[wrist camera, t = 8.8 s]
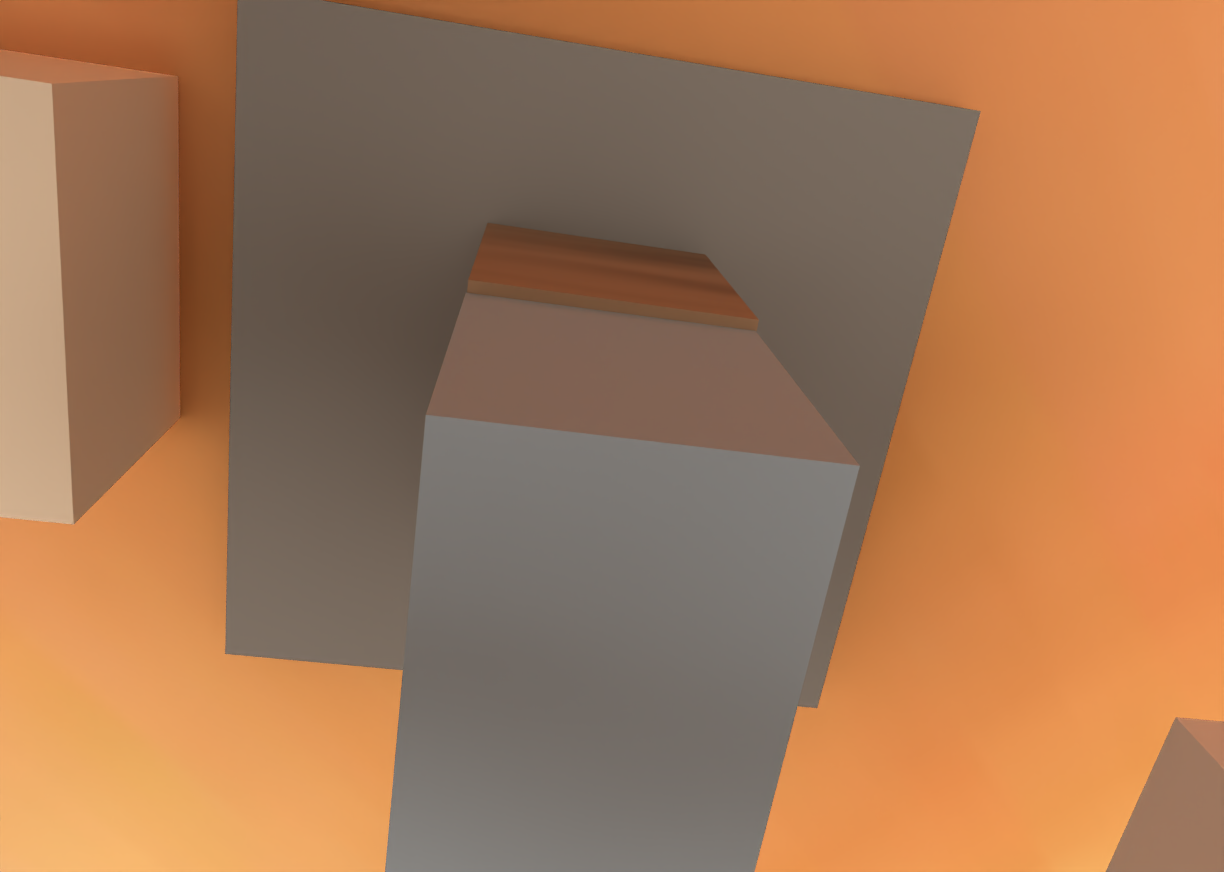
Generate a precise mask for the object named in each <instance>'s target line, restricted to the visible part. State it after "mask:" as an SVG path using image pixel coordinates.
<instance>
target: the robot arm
mask: <svg viewBox="0 0 1224 872" xmlns="http://www.w3.org/2000/svg"><path fill="white" fill-rule="evenodd" d="M1106 872H1224V722H1221V721H1210V720H1199V719H1188V718H1177V717H1176V718H1175V720H1174V722H1173V724H1172V726H1171V729H1170V731H1169V733H1168V735H1167V738H1166V740H1165V742H1164V744H1163V746H1162V749H1161V751H1160V753H1159V755H1158V757H1157V760H1156V762H1155V764H1154V766H1153V769H1152V771H1151V773H1150V775H1149V777H1148V780H1147V782H1146V784H1145V786H1144V788H1143V791H1142V793H1141V795H1140V797H1139V800H1138V802H1137V804H1136V806H1135V808H1134V811H1133V813H1132V815H1131V817H1130V819H1129V822H1128V824H1127V826H1126V828H1125V831H1124V833H1123V835H1122V837H1121V839H1120V842H1119V844H1118V846H1117V848H1116V850H1115V853H1114V855H1113V857H1112V859H1111V862H1110V864H1109V866H1108V868H1107V870H1106Z"/></svg>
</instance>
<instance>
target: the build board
mask: <svg viewBox="0 0 1224 872" xmlns="http://www.w3.org/2000/svg"><path fill="white" fill-rule="evenodd" d="M980 112H981V111H976V110H970V109H964V108H958V107H953V106H947V105H941V104H935V103H929V102H923V101H917V100H911V99H905V98H899V97H893V96H887V95H881V94H875V93H869V92H863V91H858V90H852V89H846V88H840V87H834V86H828V85H822V84H816V83H810V82H804V81H798V80H792V79H786V78H780V77H774V76H768V75H763V74H757V73H751V72H745V71H739V70H733V69H727V68H721V67H715V66H709V65H703V64H697V63H691V62H685V61H679V60H673V59H667V58H662V57H656V56H650V55H644V54H638V53H632V52H626V51H620V50H614V49H608V48H602V47H596V46H590V45H584V44H578V43H572V42H567V41H561V40H555V39H549V38H543V37H537V36H531V35H525V34H519V33H513V32H507V31H501V30H495V29H489V28H483V27H477V26H472V25H466V24H460V23H454V22H448V21H442V20H436V19H430V18H424V17H418V16H412V15H406V14H400V13H394V12H388V11H382V10H377V9H371V8H365V7H359V6H353V5H347V4H341V3H335V2H329V1H323V0H238V5H237V59H236V112H235V166H234V219H233V273H232V327H231V380H230V434H229V487H228V541H227V594H226V648H225V654H233V655H244V656H255V657H265V658H276V659H287V660H298V661H309V662H320V663H331V664H342V665H353V666H364V667H375V668H386V669H397V670H403V665H404V654H405V643H406V631H407V620H408V609H409V598H410V586H411V575H412V564H413V553H414V541H415V530H416V519H417V508H418V496H419V485H420V474H421V462H422V451H423V440H424V429H425V417H426V412H427V409H428V406H429V403H430V400H431V397H432V394H433V391H434V388H435V385H436V382H437V379H438V376H439V373H440V370H441V367H442V364H443V361H444V358H445V355H446V352H447V349H448V346H449V342H450V339H451V336H452V333H453V330H454V327H455V324H456V321H457V318H458V315H459V312H460V309H461V306H462V303H463V300H464V297H465V294H466V293H467V288H468V279H469V276H470V273H471V270H472V267H473V264H474V261H475V259H476V256H477V253H478V250H479V247H480V244H481V241H482V238H483V235H484V232H485V229H486V226H487V223H493V224H500V225H507V226H513V227H520V228H527V229H534V230H541V231H548V232H555V233H561V234H568V235H575V236H582V237H589V238H596V239H603V240H609V241H616V242H623V243H630V244H637V245H644V246H651V247H657V248H664V249H671V250H678V251H685V252H692V253H699V254H705V255H706V256H707V257H708V258H709V260H710V261H711V262H712V263H713V264H714V266H715V267H716V268H717V269H718V271H719V272H720V273H721V274H722V275H723V277H724V278H725V279H726V280H727V282H728V283H729V284H730V285H731V286H732V288H733V289H734V290H735V291H736V293H737V294H738V295H739V296H740V297H741V299H742V300H743V301H744V302H745V304H746V305H747V306H748V307H749V308H750V310H751V311H752V312H753V313H754V315H755V316H756V317H757V318H758V319H759V322H758V327H757V331H756V332H757V333H758V335H759V336H760V337H761V339H762V340H763V341H764V342H765V344H766V345H767V346H768V348H769V349H770V350H771V351H772V353H773V354H774V355H775V357H776V358H777V359H778V361H779V362H780V363H781V364H782V366H783V367H784V368H785V370H786V371H787V372H788V373H789V375H790V376H791V377H792V379H793V380H794V381H795V383H796V384H797V385H798V386H799V388H800V389H801V390H802V392H803V393H804V394H805V395H806V397H807V398H808V399H809V401H810V402H811V403H812V405H813V406H814V407H815V408H816V410H817V411H818V412H819V414H820V415H821V416H822V417H823V419H824V420H825V421H826V423H827V424H828V425H829V427H830V428H831V429H832V430H833V432H834V433H835V434H836V436H837V437H838V438H839V439H840V441H841V442H842V443H843V445H844V446H845V447H846V449H847V450H848V451H849V452H850V454H851V455H852V456H853V458H854V459H855V460H856V461H857V463H858V464H859V465H860V467H859V471H858V475H857V479H856V483H855V486H854V490H853V494H852V498H851V502H850V506H849V510H848V513H847V517H846V521H845V525H844V529H843V533H842V536H841V540H840V544H839V548H838V552H837V556H836V560H835V563H834V567H833V571H832V575H831V579H830V583H829V586H828V590H827V594H826V598H825V602H824V606H823V610H822V613H821V617H820V621H819V625H818V629H817V633H816V636H815V640H814V644H813V648H812V652H811V656H810V660H809V663H808V667H807V671H806V675H805V679H804V683H803V686H802V690H801V694H800V698H799V702H798V706H801V707H812V708H817V707H818V703H819V699H820V696H821V692H822V688H823V685H824V681H825V677H826V674H827V670H828V667H829V663H830V659H831V656H832V652H833V648H834V645H835V641H836V637H837V634H838V630H839V626H840V623H841V619H842V615H843V612H844V608H845V604H846V601H847V597H848V594H849V590H850V586H851V583H852V579H853V575H854V572H855V568H856V564H857V561H858V557H859V553H860V550H861V546H862V542H863V539H864V535H865V531H866V528H867V524H868V521H869V517H870V513H871V510H872V506H873V502H874V499H875V495H876V491H877V488H878V484H879V480H880V477H881V473H882V469H883V466H884V462H885V458H886V455H887V451H888V447H889V444H890V440H891V437H892V433H893V429H894V426H895V422H896V418H897V415H898V411H899V407H900V404H901V400H902V396H903V393H904V389H905V385H906V382H907V378H908V374H909V371H910V367H911V364H912V360H913V356H914V353H915V349H916V345H917V342H918V338H919V334H920V331H921V327H922V323H923V320H924V316H925V312H926V309H927V305H928V301H929V298H930V294H931V291H932V287H933V283H934V280H935V276H936V272H937V269H938V265H939V261H940V258H941V254H942V250H943V247H944V243H945V239H946V236H947V232H948V228H949V225H950V221H951V217H952V214H953V210H954V207H955V203H956V199H957V196H958V192H959V188H960V185H961V181H962V177H963V174H964V170H965V166H966V163H967V159H968V155H969V152H970V148H971V144H972V141H973V137H974V134H975V130H976V126H977V123H978V119H979V115H980Z"/></svg>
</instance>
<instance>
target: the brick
mask: <svg viewBox="0 0 1224 872" xmlns="http://www.w3.org/2000/svg"><path fill="white" fill-rule="evenodd" d="M179 418H180V288H179V115H178V76H174V75H168V74H161V73H155V72H148V71H141V70H135V69H128V68H122V67H115V66H108V65H102V64H95V63H89V62H82V61H76V60H69V59H62V58H56V57H49V56H43V55H36V54H29V53H23V52H16V51H10V50H3V49H0V517H4V518H14V519H24V520H34V521H44V522H54V523H64V524H75V523H76V522H77V521H78V520H79V519H80V518H81V517H82V516H83V515H84V514H85V513H86V512H87V511H88V510H89V509H90V508H91V507H92V506H93V505H94V504H95V503H96V502H97V501H98V500H99V499H100V498H101V497H102V496H103V495H104V494H105V493H106V492H107V491H108V490H109V489H110V488H111V487H112V486H113V484H114V483H115V482H116V481H117V480H118V479H119V478H120V477H121V476H122V475H123V474H124V473H125V472H126V471H127V470H128V469H129V468H130V467H131V466H132V465H133V464H134V463H135V462H136V461H137V460H138V459H139V458H140V457H141V456H142V455H143V454H144V453H145V452H146V451H147V450H148V449H149V448H150V447H151V446H152V445H153V444H154V443H155V442H156V441H157V440H158V439H159V438H160V437H161V436H162V435H163V434H164V433H165V432H166V431H167V430H168V429H169V428H170V427H171V426H172V425H173V424H174V423H175V422H176V421H177V420H178V419H179Z"/></svg>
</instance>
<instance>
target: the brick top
mask: <svg viewBox="0 0 1224 872" xmlns="http://www.w3.org/2000/svg"><path fill="white" fill-rule="evenodd" d="M859 467H860V465H859V464H858V463H857V461H856V460H855V459H854V458H853V456H852V455H851V454H850V452H849V451H848V450H847V449H846V447H845V446H844V445H843V443H842V442H841V441H840V439H839V438H838V437H837V436H836V434H835V433H834V432H833V430H832V429H831V428H830V427H829V425H828V424H827V423H826V421H825V420H824V419H823V417H822V416H821V415H820V414H819V412H818V411H817V410H816V408H815V407H814V406H813V405H812V403H811V402H810V401H809V399H808V398H807V397H806V395H805V394H804V393H803V392H802V390H801V389H800V388H799V386H798V385H797V384H796V383H795V381H794V380H793V379H792V377H791V376H790V375H789V373H788V372H787V371H786V370H785V368H784V367H783V366H782V364H781V363H780V362H779V361H778V359H777V358H776V357H775V355H774V354H773V353H772V351H771V350H770V349H769V348H768V346H767V345H766V344H765V342H764V341H763V340H762V339H761V337H760V336H759V335H758V333H757V332H756V331H753V330H745V329H737V328H730V327H722V326H715V325H707V324H700V323H692V322H685V321H677V320H669V319H662V318H654V317H647V316H639V315H632V314H624V313H617V312H609V311H602V310H594V309H586V308H579V307H571V306H564V305H556V304H549V303H541V302H534V301H526V300H518V299H511V298H503V297H496V296H488V295H481V294H473V293H466V294H465V297H464V300H463V303H462V306H461V309H460V312H459V315H458V318H457V321H456V324H455V327H454V330H453V333H452V336H451V339H450V342H449V346H448V349H447V352H446V355H445V358H444V361H443V364H442V367H441V370H440V373H439V376H438V379H437V382H436V385H435V388H434V391H433V394H432V397H431V400H430V403H429V406H428V409H427V412H426V417H425V429H424V440H423V451H422V462H421V474H420V485H419V496H418V508H417V519H416V530H415V541H414V553H413V564H412V575H411V586H410V598H409V609H408V620H407V631H406V643H405V654H404V665H403V676H402V688H401V699H400V710H399V721H398V733H397V744H396V755H395V767H394V778H393V789H392V800H391V812H390V823H389V834H388V845H387V857H386V868H385V872H754V871H755V867H756V863H757V860H758V856H759V852H760V848H761V844H762V840H763V836H764V833H765V829H766V825H767V821H768V817H769V813H770V810H771V806H772V802H773V798H774V794H775V790H776V786H777V783H778V779H779V775H780V771H781V767H782V763H783V760H784V756H785V752H786V748H787V744H788V740H789V736H790V733H791V729H792V725H793V721H794V717H795V713H796V710H797V706H798V702H799V698H800V694H801V690H802V686H803V683H804V679H805V675H806V671H807V667H808V663H809V660H810V656H811V652H812V648H813V644H814V640H815V636H816V633H817V629H818V625H819V621H820V617H821V613H822V610H823V606H824V602H825V598H826V594H827V590H828V586H829V583H830V579H831V575H832V571H833V567H834V563H835V560H836V556H837V552H838V548H839V544H840V540H841V536H842V533H843V529H844V525H845V521H846V517H847V513H848V510H849V506H850V502H851V498H852V494H853V490H854V486H855V483H856V479H857V475H858V471H859Z"/></svg>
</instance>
